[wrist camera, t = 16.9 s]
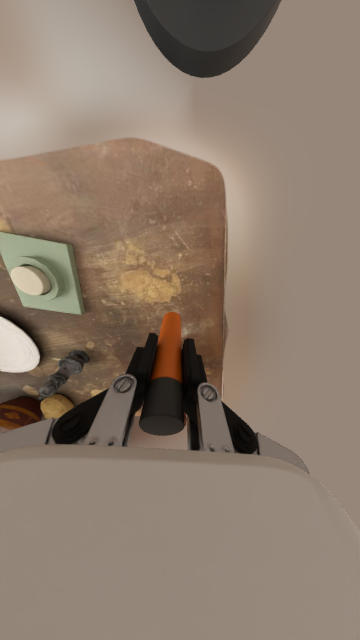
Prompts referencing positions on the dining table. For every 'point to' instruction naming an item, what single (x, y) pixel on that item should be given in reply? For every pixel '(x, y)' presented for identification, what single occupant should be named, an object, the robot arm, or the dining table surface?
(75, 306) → the push button block
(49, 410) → the potato
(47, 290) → the circle pad
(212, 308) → the dining table surface
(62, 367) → the chess piece
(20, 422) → the jug
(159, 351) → the marker
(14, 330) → the plate
